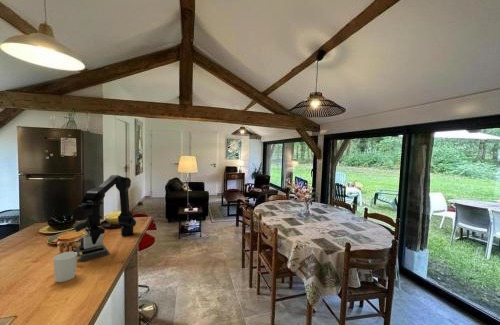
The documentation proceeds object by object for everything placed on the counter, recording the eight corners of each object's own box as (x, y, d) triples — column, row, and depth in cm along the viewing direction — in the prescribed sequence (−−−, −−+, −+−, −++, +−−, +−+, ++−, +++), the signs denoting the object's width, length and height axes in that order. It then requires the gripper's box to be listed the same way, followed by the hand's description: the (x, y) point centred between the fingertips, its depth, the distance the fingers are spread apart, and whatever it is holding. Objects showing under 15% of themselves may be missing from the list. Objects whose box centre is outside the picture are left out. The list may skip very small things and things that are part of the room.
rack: (100, 242, 134) (101, 231, 134) (110, 254, 119) (110, 242, 119) (71, 248, 124) (71, 237, 124) (77, 262, 109) (78, 249, 109)
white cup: (49, 279, 94) (50, 256, 94) (71, 271, 101) (71, 250, 101) (58, 285, 91) (59, 261, 90) (80, 276, 98) (80, 254, 97)
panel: (101, 243, 121) (101, 232, 121) (102, 244, 119) (102, 234, 119) (83, 247, 115) (83, 236, 115) (84, 249, 113) (84, 237, 113)
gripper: (71, 213, 117) (71, 241, 118) (77, 221, 104) (77, 253, 105) (96, 209, 125) (96, 236, 126) (105, 217, 112) (104, 247, 113)
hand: (93, 243), depth 117 cm, fingers closed on panel, 2 cm apart
